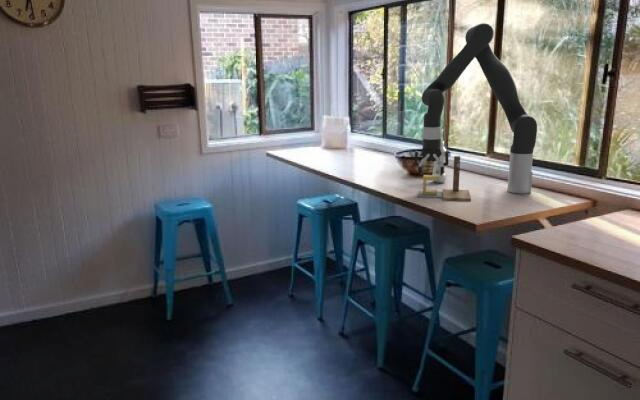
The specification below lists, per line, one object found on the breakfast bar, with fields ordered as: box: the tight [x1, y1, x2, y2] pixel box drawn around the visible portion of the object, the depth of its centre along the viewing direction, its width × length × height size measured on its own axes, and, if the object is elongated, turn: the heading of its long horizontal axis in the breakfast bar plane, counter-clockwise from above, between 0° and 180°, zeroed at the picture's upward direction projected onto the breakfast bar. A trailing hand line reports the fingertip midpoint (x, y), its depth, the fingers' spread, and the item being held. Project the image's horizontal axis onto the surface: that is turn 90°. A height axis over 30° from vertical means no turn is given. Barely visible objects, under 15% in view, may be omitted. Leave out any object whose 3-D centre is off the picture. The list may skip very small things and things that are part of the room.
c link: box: [422, 174, 438, 195], centre depth 219 cm, size 6×4×8 cm, turn 77°
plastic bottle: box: [431, 140, 447, 184], centre depth 240 cm, size 6×7×20 cm
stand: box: [442, 155, 472, 202], centre depth 214 cm, size 11×15×16 cm
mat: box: [417, 190, 443, 199], centre depth 220 cm, size 10×10×1 cm
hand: (430, 175), depth 217 cm, fingers open, 8 cm apart
